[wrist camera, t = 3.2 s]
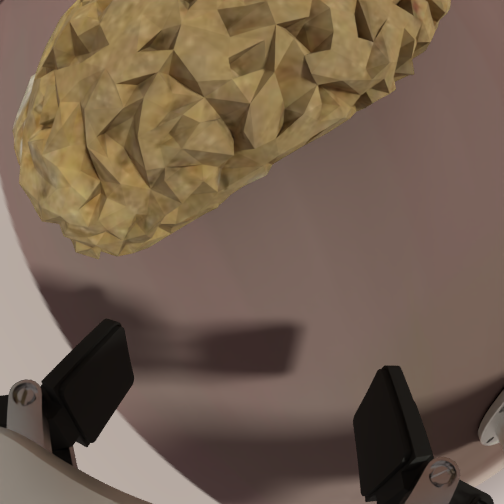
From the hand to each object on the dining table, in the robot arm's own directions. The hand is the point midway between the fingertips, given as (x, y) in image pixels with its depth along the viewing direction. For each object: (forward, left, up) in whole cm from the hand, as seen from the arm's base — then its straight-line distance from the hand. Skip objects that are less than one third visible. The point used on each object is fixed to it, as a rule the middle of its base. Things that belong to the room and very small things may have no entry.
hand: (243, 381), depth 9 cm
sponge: (+1, -14, -4) cm, 15 cm away
